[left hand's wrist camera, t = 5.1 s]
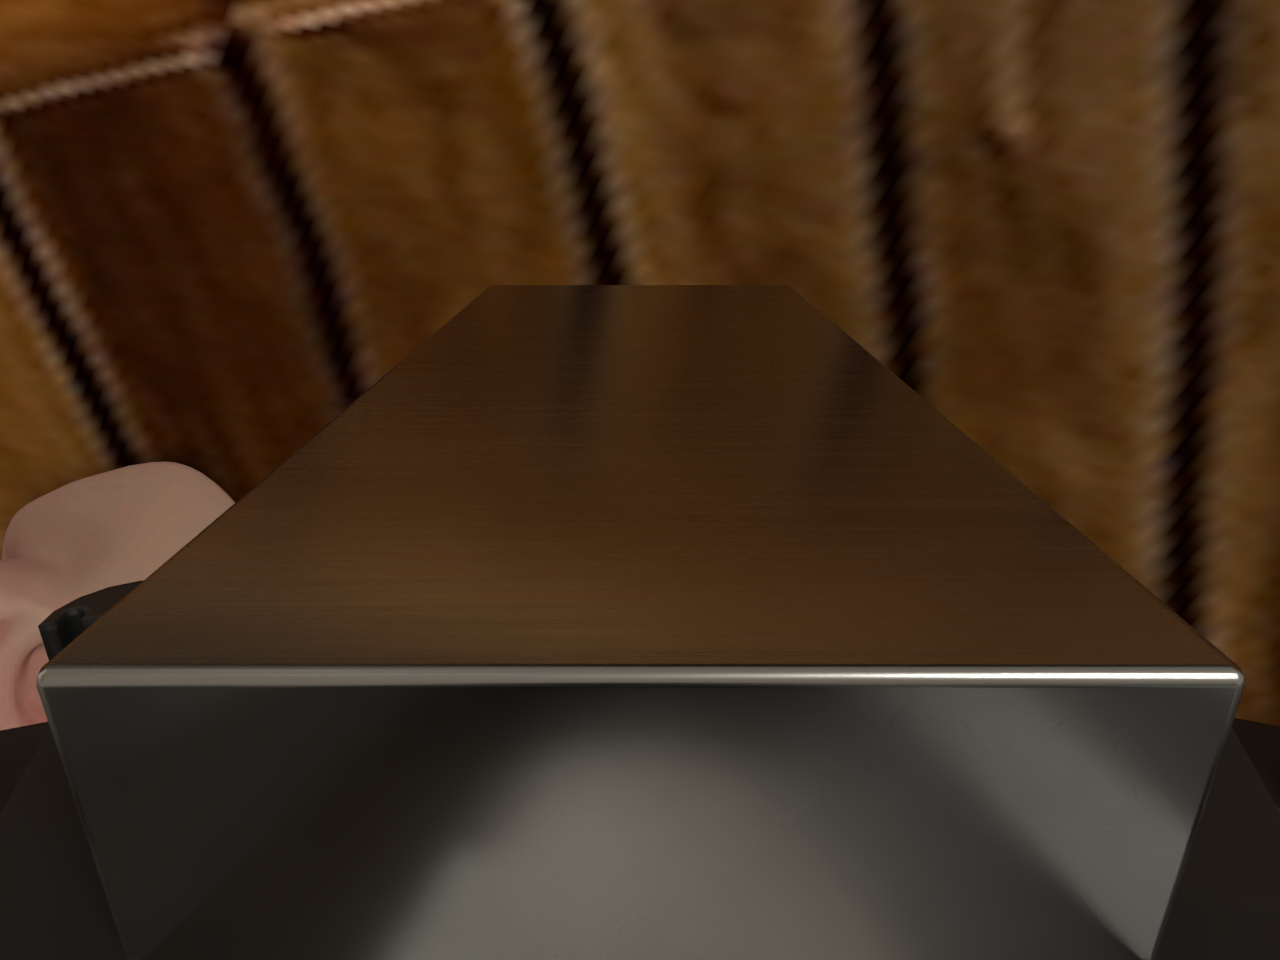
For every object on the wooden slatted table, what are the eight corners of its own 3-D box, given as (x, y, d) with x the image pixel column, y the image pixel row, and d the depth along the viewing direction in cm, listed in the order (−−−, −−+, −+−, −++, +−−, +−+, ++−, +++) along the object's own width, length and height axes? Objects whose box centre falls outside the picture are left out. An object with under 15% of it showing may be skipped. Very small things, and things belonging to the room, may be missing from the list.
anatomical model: (33, 440, 22) (358, 702, 25) (120, 399, 26) (395, 631, 29) (-206, 712, 25) (109, 913, 28) (-98, 641, 29) (170, 826, 32)
